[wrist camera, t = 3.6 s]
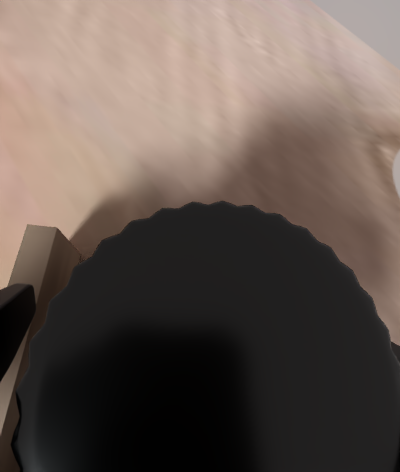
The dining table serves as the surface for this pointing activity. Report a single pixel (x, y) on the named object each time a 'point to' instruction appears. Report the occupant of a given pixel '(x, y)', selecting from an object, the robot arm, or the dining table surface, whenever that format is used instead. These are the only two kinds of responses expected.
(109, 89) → the dining table surface
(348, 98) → the dining table surface
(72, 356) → the supplement bottle
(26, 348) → the walled lane
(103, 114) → the dining table surface
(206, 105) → the dining table surface
